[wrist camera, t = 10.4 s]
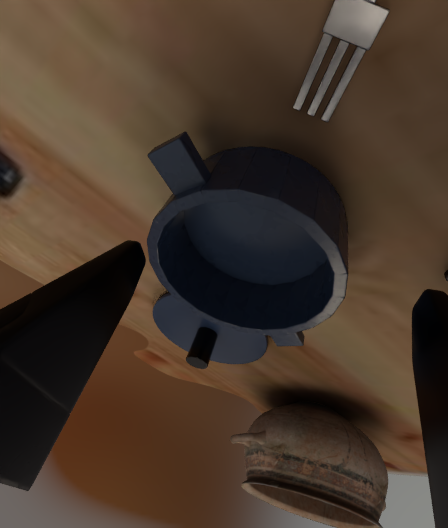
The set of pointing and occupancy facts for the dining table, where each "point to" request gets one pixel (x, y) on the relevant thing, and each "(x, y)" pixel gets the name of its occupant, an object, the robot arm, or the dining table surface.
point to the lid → (205, 336)
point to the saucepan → (249, 239)
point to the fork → (342, 49)
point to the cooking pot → (315, 466)
